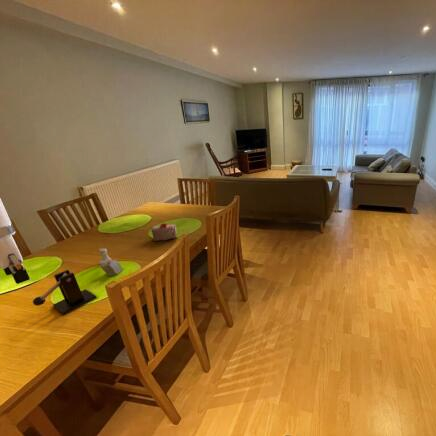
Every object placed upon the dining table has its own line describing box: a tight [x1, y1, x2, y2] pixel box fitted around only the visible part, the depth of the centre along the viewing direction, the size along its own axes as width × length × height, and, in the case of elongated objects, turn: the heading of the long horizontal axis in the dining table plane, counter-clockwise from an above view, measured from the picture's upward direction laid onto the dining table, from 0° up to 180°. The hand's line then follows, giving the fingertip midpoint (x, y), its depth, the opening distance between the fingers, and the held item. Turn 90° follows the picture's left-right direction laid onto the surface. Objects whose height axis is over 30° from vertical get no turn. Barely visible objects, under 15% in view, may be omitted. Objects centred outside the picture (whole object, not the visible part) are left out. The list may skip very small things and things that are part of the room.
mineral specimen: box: [98, 259, 123, 277], centre depth 115 cm, size 7×9×8 cm
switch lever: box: [32, 273, 68, 307], centre depth 91 cm, size 13×3×3 cm, turn 150°
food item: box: [151, 222, 178, 242], centre depth 150 cm, size 14×8×10 cm, turn 108°
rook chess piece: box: [98, 247, 112, 261], centre depth 124 cm, size 4×4×8 cm
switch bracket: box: [52, 269, 97, 316], centre depth 95 cm, size 11×9×14 cm
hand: (18, 277), depth 82 cm, fingers open, 9 cm apart
